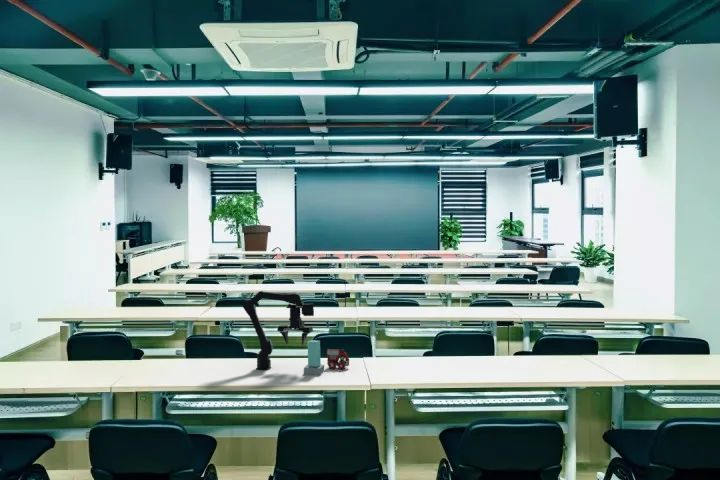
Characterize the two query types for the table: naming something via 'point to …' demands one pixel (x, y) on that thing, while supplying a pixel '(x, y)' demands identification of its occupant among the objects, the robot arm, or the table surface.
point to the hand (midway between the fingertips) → (295, 344)
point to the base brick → (313, 370)
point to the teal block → (314, 353)
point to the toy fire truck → (334, 357)
